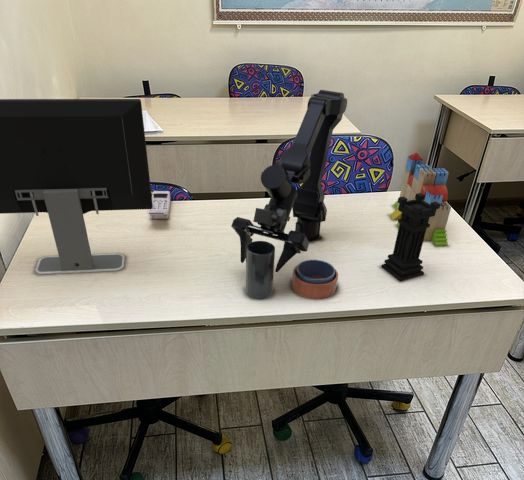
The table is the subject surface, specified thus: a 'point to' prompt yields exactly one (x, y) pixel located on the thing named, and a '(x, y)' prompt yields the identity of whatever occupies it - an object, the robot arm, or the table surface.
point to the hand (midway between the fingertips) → (258, 267)
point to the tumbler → (259, 269)
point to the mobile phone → (160, 205)
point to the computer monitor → (73, 170)
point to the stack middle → (315, 271)
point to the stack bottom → (314, 287)
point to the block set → (426, 195)
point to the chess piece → (410, 237)
